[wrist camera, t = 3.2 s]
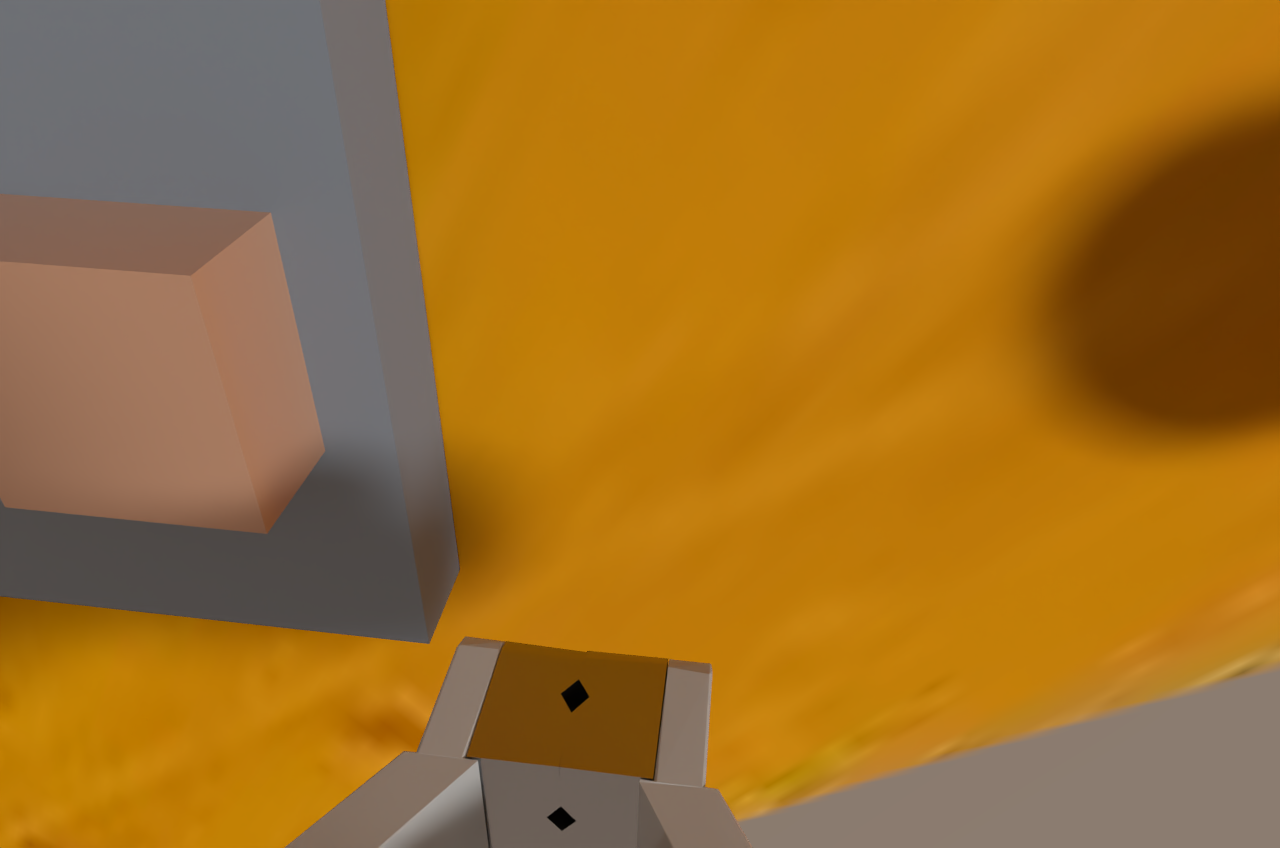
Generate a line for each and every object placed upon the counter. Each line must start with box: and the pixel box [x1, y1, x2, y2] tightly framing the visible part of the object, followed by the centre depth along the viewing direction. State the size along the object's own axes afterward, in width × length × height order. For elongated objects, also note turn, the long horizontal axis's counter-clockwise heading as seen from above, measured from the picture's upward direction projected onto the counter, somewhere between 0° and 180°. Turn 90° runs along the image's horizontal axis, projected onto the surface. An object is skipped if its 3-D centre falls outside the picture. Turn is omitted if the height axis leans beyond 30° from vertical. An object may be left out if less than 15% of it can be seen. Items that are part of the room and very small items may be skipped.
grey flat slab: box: [0, 0, 460, 644], centre depth 18 cm, size 16×14×2 cm
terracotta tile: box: [0, 194, 325, 534], centre depth 15 cm, size 5×5×2 cm
